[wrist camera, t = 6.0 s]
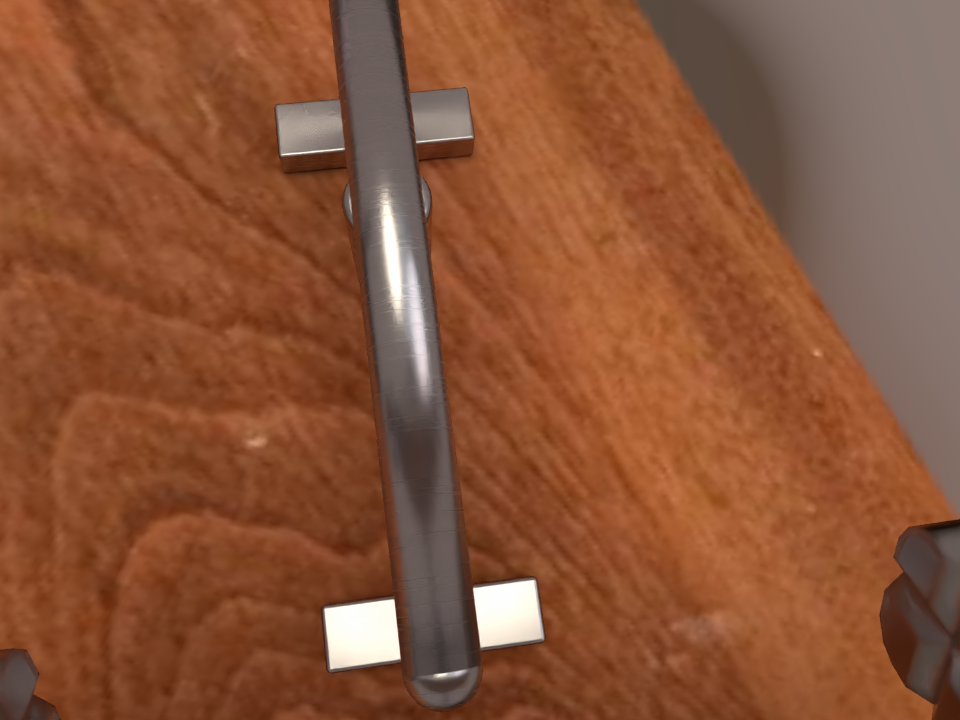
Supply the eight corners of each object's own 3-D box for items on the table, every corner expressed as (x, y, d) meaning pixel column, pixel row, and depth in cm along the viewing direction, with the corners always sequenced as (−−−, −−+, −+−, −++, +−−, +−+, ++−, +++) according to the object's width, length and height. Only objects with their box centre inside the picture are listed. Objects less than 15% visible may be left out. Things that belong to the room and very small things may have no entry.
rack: (541, 639, 18) (659, 708, 9) (330, 669, 17) (234, 773, 8) (465, 104, 20) (499, -262, 11) (279, 121, 20) (162, -242, 11)
